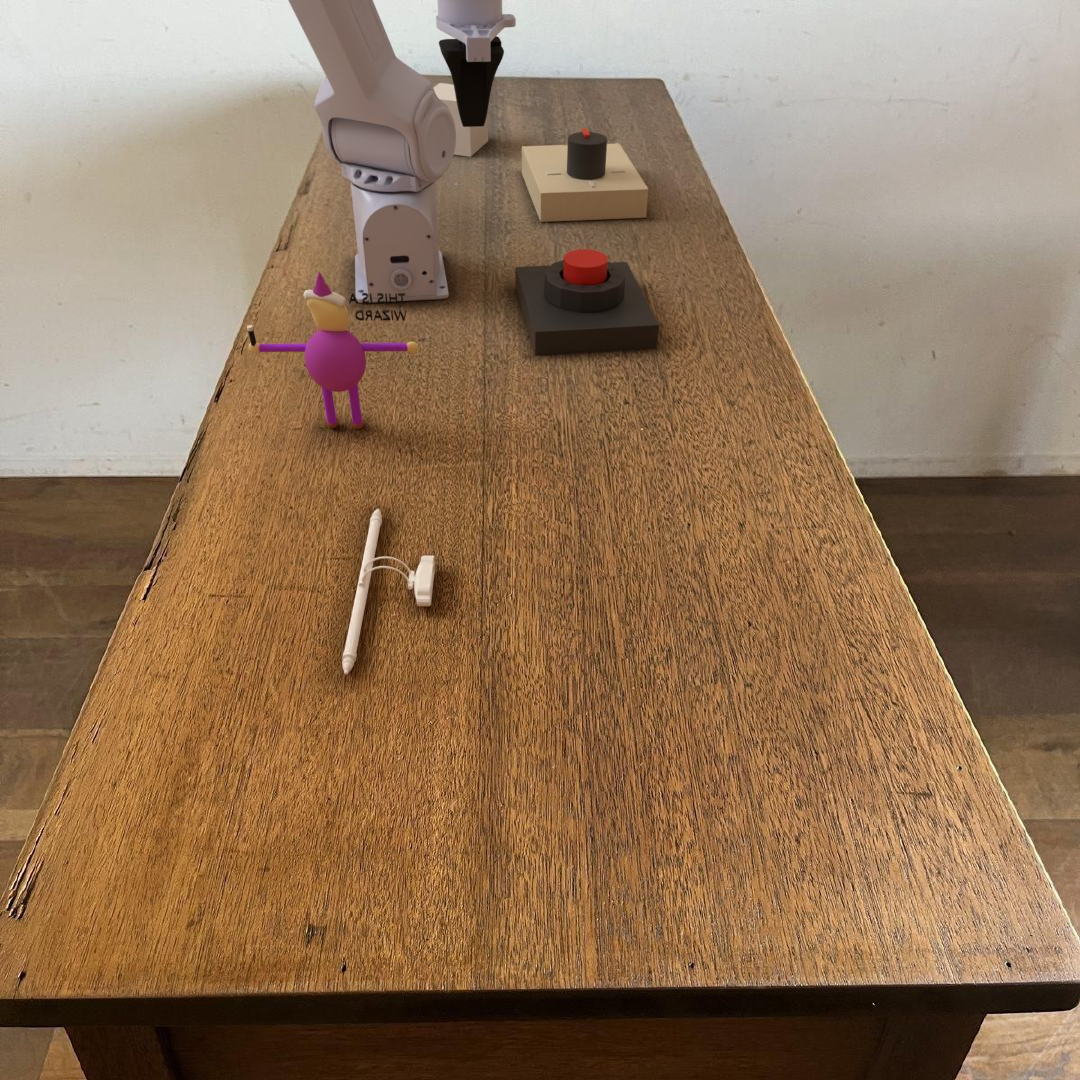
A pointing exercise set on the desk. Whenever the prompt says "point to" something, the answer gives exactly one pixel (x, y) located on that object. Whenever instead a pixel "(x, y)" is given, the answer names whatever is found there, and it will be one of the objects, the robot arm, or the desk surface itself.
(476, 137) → the beige cube
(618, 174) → the panel
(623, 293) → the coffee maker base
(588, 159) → the warmer dial
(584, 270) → the power button
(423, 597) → the picture light
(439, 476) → the desk surface
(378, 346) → the wizard figurine
